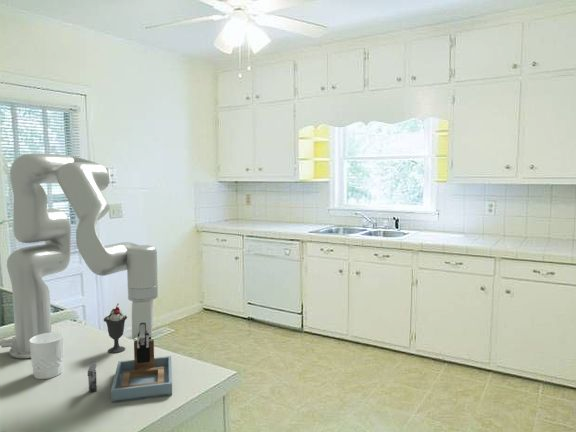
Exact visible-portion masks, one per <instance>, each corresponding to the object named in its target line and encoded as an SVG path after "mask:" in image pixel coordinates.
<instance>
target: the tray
mask: <svg viewBox="0 0 576 432" xmlns="http://www.w3.org/2000/svg"><path fill="white" fill-rule="evenodd" d="M155 367H164V383H159V384H151V385H142V386H134V387H125V388H121V386H122V380H123V375H124V371H128V370H135V364H134V359H128V360H121V361H117V366H116V370H115V373H114V378H113V381H112V384H111V385H112V386H111V389H110V397H111V398H110V399H111V400H110V402H111V403H119V402H127V401H128V402H129V401H136V400H145V399H152V398H161V397H167V396H168V397H169V396H173V377H172V374H173V373H172V355H169V356H159V357H158V356H157V357H154V368H155ZM151 382H158V375H154V376H145V377H136V378H130V382H129V385H135V384H143V383H151Z"/></svg>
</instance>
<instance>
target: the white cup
mask: <svg viewBox="0 0 576 432" xmlns="http://www.w3.org/2000/svg"><path fill="white" fill-rule="evenodd" d="M51 332H52V331H51ZM29 342H30V351H31V358H30V359H31V366H32V373H33V378H34V379H37V380H48V379H51V378H52V379H53V378H54V377H57V376H59V375H60V374H62V373H63V362H64V334H63V333H61V332H56V331H55V332H52V333H44V334H40V335H37V336H34V337H32V338H31V339H30V340H29Z"/></svg>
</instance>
